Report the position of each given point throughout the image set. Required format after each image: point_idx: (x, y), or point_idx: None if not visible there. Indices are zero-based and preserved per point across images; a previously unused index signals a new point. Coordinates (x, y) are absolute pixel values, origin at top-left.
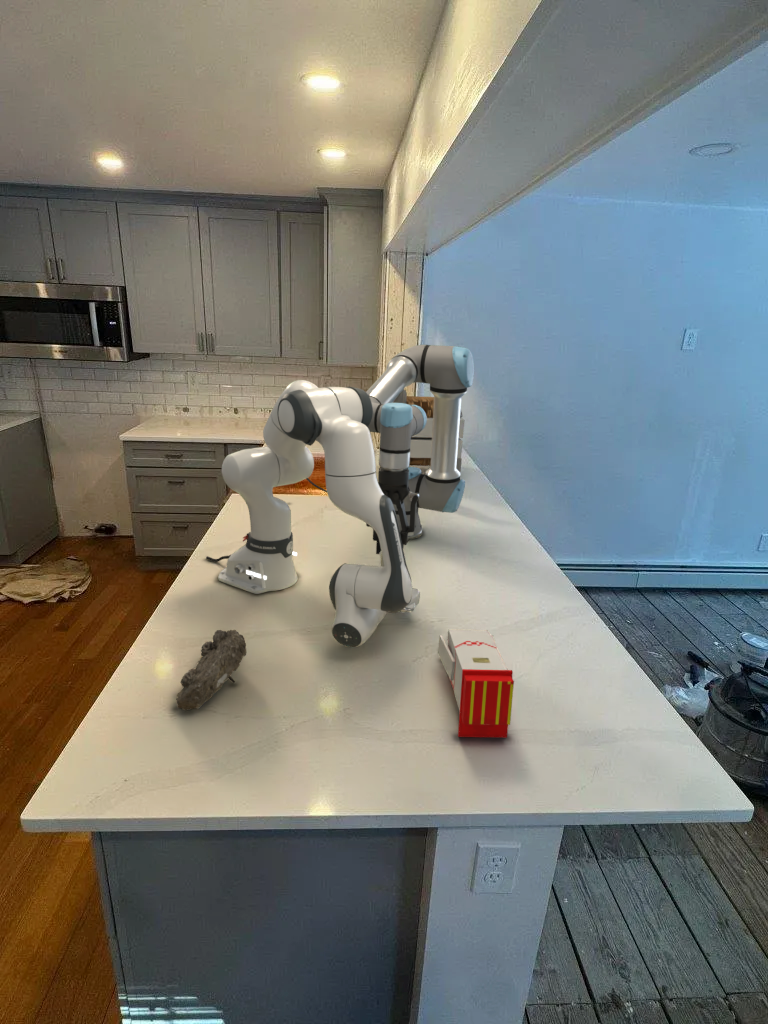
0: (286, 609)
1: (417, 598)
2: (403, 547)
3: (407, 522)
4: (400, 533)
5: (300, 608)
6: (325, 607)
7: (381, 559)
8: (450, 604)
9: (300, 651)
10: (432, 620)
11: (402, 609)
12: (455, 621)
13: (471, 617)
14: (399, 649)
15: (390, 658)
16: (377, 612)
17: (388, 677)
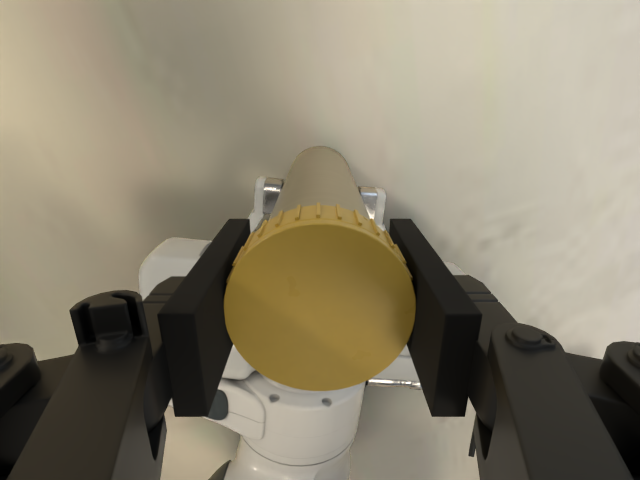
0: (32, 305)
1: None
2: (422, 235)
3: (592, 423)
4: (443, 411)
5: (66, 288)
6: (133, 261)
7: None
8: (555, 104)
9: (181, 451)
10: (485, 236)
11: (415, 388)
12: (562, 220)
13: (623, 178)
14: (402, 391)
15: (387, 425)
16: (345, 463)
17: (394, 476)
